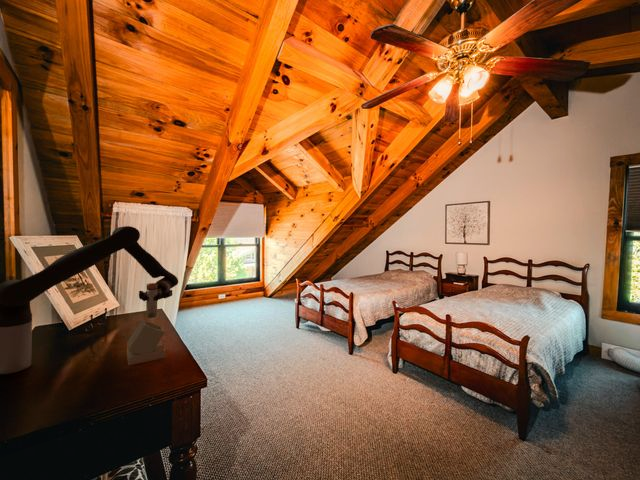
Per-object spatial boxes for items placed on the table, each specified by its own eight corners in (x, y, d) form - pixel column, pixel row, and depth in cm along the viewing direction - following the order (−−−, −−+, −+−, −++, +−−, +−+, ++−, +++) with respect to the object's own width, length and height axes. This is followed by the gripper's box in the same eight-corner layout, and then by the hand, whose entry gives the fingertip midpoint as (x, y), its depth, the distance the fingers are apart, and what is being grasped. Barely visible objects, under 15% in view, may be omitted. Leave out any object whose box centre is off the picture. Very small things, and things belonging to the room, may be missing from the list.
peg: (146, 318, 117) (147, 285, 116) (145, 315, 120) (146, 283, 120) (157, 316, 120) (158, 284, 119) (156, 314, 123) (156, 282, 122)
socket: (128, 365, 110) (129, 328, 110) (126, 355, 119) (127, 320, 119) (165, 357, 118) (166, 323, 118) (161, 348, 127) (162, 316, 127)
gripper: (142, 282, 131) (130, 290, 114) (176, 281, 135) (169, 289, 119) (142, 298, 131) (130, 308, 115) (176, 297, 136) (169, 306, 119)
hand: (150, 298), depth 117 cm, fingers closed on peg, 4 cm apart
